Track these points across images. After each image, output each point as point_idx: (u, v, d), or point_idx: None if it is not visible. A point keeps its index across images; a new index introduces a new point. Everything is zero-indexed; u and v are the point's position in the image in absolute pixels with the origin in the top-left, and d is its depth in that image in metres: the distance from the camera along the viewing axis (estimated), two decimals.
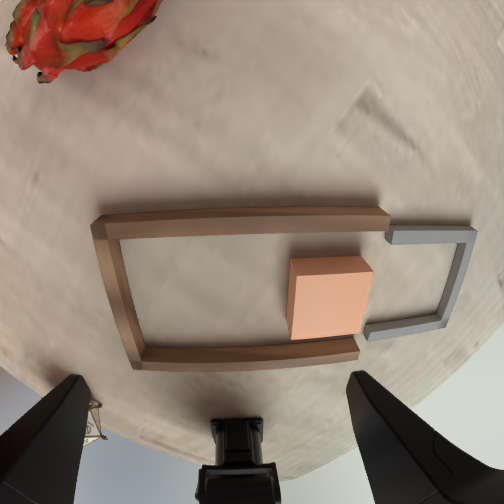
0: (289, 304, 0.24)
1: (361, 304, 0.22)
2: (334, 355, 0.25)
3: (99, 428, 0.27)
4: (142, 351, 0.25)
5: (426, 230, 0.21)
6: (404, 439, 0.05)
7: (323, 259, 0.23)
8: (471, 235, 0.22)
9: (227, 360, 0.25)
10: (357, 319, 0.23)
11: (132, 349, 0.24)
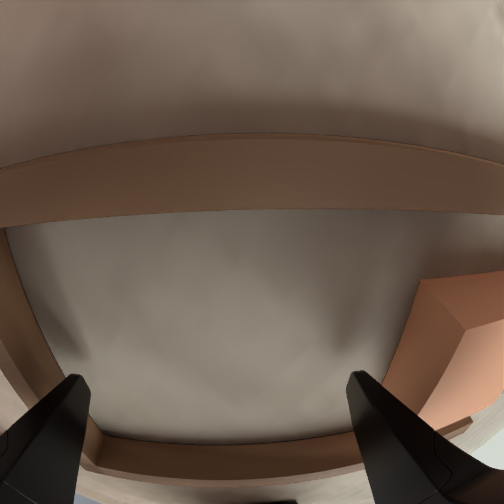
0: (401, 377, 0.09)
1: None
2: None
3: None
4: (96, 448, 0.10)
5: None
6: (404, 439, 0.05)
7: (476, 279, 0.08)
8: None
9: (259, 474, 0.10)
10: (502, 385, 0.08)
11: None
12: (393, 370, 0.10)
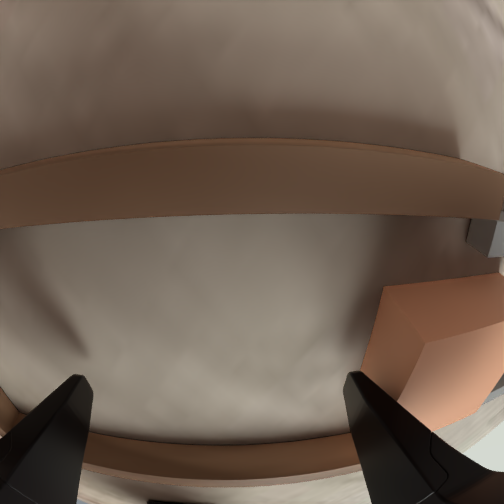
0: None
1: (500, 370, 0.08)
2: (331, 470, 0.11)
3: None
4: (10, 421, 0.10)
5: None
6: (400, 440, 0.05)
7: (450, 285, 0.08)
8: None
9: (125, 467, 0.10)
10: (484, 395, 0.08)
11: None
12: None
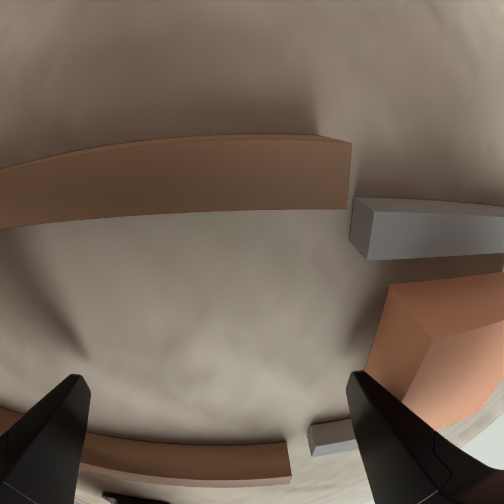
0: None
1: None
2: (235, 480, 0.10)
3: None
4: None
5: (475, 214, 0.06)
6: (404, 439, 0.05)
7: (455, 283, 0.08)
8: None
9: None
10: (486, 393, 0.08)
11: None
12: None
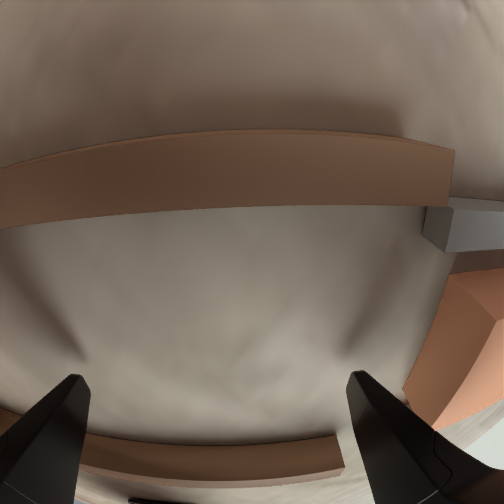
0: (430, 370, 0.09)
1: None
2: (290, 477, 0.10)
3: None
4: None
5: None
6: (404, 439, 0.05)
7: (498, 273, 0.08)
8: None
9: (89, 461, 0.10)
10: None
11: None
12: (421, 363, 0.10)
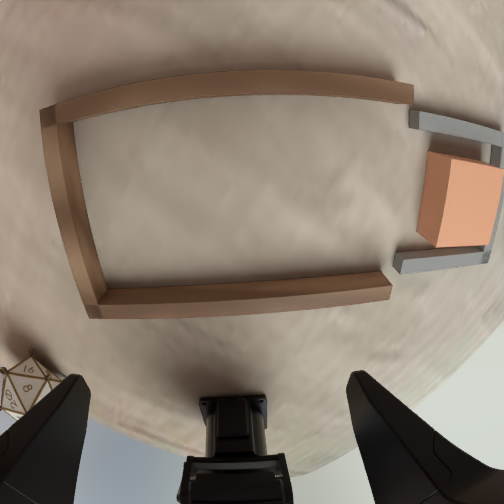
0: (428, 205, 0.17)
1: (494, 207, 0.16)
2: (359, 291, 0.19)
3: None
4: (101, 293, 0.19)
5: (457, 119, 0.15)
6: (404, 439, 0.05)
7: (456, 156, 0.16)
8: None
9: (211, 299, 0.19)
10: (489, 226, 0.17)
11: (86, 285, 0.17)
12: (423, 206, 0.18)
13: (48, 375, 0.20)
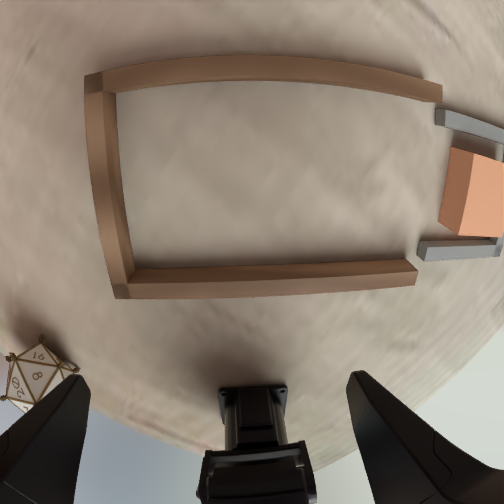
0: (451, 196, 0.18)
1: None
2: (389, 275, 0.19)
3: None
4: (130, 271, 0.19)
5: (476, 119, 0.15)
6: (404, 439, 0.05)
7: None
8: None
9: (249, 278, 0.19)
10: (503, 219, 0.17)
11: (116, 262, 0.17)
12: (445, 197, 0.19)
13: (61, 362, 0.20)
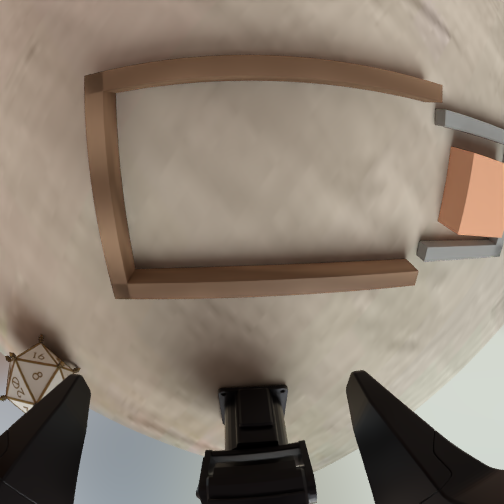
0: (451, 196, 0.18)
1: None
2: (389, 275, 0.19)
3: None
4: (130, 271, 0.19)
5: (476, 119, 0.15)
6: (404, 439, 0.05)
7: None
8: None
9: (249, 278, 0.19)
10: (503, 219, 0.17)
11: (116, 262, 0.17)
12: (445, 197, 0.19)
13: (61, 362, 0.20)
